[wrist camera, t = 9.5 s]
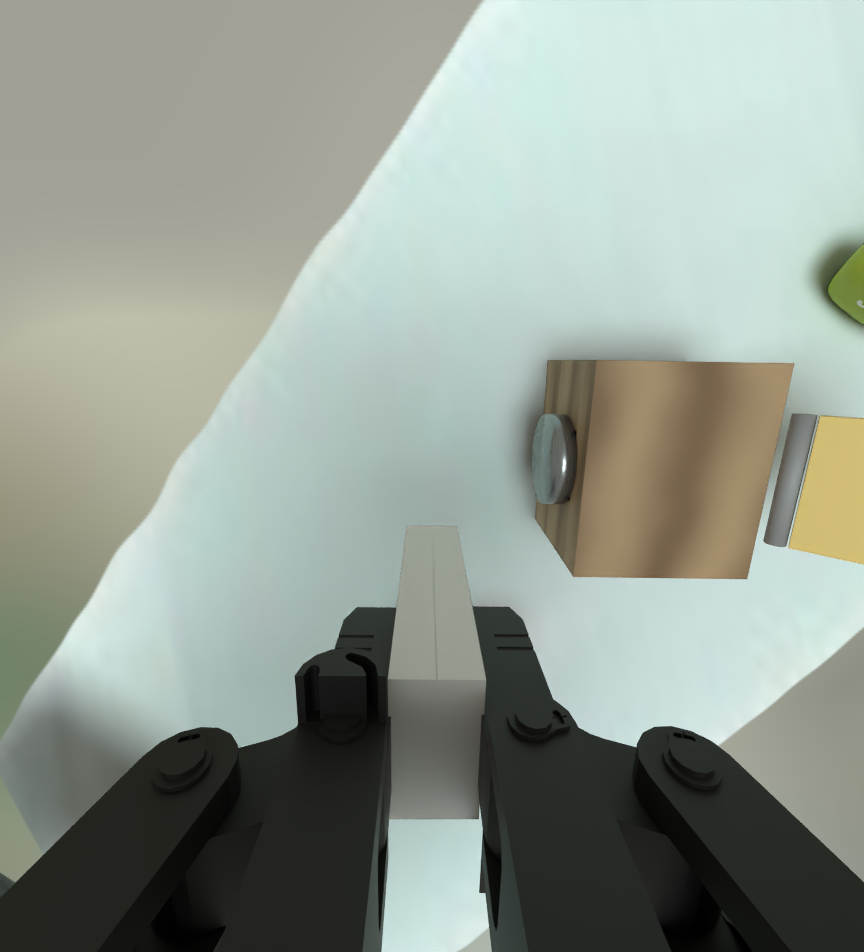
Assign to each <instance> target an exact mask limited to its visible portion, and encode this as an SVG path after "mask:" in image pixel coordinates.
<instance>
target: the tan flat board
mask: <svg viewBox="0 0 864 952" xmlns="http://www.w3.org/2000/svg"><path fill="white" fill-rule="evenodd" d="M816 419H817V415H811V414H792V416H791V420H790V424H789V429H788V433H787V438H786V442H785V447H784V451H783V456H782V460H781V465H780V469H779V474H778V478H777V482H776V487H775V491H774V496H773V500H772V505H771V509H770V514H769V518H768V523H767V527H766V532H765V536H764V540H763V541H764V542H765V543H767V544H769V545H773V546H778V547H785V546H786V545H787V541H788V537H789V532H790V528H791V524H792V520H793V516H794V511H795V507H796V503H797V499H798V495H799V491H800V486H801V482H802V478H803V474H804V470H805V465H806V461H807V457H808V453H809V449H810V445H811V440H812V436H813V432H814V428H815V424H816ZM789 548H790V549H795V550H800V551H804V552H809V553H813V554H818V555H822V556H827V557H832V558H836V559H841V560H845V561H850V562H855V563H859V564H864V418H854V417H839V416H824V415H820V417H819V421H818V425H817V429H816V434H815V438H814V442H813V446H812V450H811V454H810V459H809V463H808V467H807V471H806V475H805V479H804V483H803V488H802V492H801V496H800V500H799V504H798V508H797V513H796V517H795V521H794V525H793V529H792V533H791V537H790V542H789Z"/></svg>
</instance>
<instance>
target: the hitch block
mask: <svg viewBox="0 0 864 952" xmlns="http://www.w3.org/2000/svg"><path fill="white" fill-rule="evenodd" d="M793 367H794V363H736V362H676V361H616V360H548V366H547V379H546V391H545V404H544V414H566V415H567V416H568V417H569V418H570V420H571V422H572V424H573V428H574V432H575V435H576V450H577V460H576V473H575V480H574V484H573V488H572V492H571V494H570V497H569V498H568V500H567V501H566V502H565V503H564V504H541V503H540V502H539V501H538V499H537V503H536V515H535V519H536V521H537V522H538V524H539V525H540V527H541V528H542V530H543V532H544V533H545V535H546V536H547V538H548V539H549V541H550V542H551V544H552V545H553V547H554V548H555V550H556V551H557V553H558V554H559V556H560V557H561V559H562V560H563V562H564V563H565V565H566V566H567V568H568V569H569V571H570V572H571V574H572V575H573V577H627V578H701V579H747V577H748V573H749V568H750V563H751V559H752V554H753V550H754V545H755V541H756V536H757V532H758V527H759V522H760V518H761V513H762V509H763V504H764V500H765V495H766V490H767V486H768V481H769V477H770V472H771V468H772V463H773V459H774V454H775V449H776V445H777V440H778V436H779V431H780V427H781V422H782V417H783V413H784V408H785V404H786V399H787V395H788V390H789V386H790V381H791V376H792V372H793Z"/></svg>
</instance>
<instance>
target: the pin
mask: <svg viewBox="0 0 864 952" xmlns="http://www.w3.org/2000/svg"><path fill="white" fill-rule="evenodd" d="M576 460H577V450H576V435H575V432H574V428H573V424H572V422H571V420H570V418H569V417H568V416H567V415H566V414H543V415H542V416H541V417H540V419H539V421H538V423H537V426H536V430H535V434H534V440H533V450H532V476H533V485H534V490H535V494H536V497H537V499H538V501H539V502H540V503H541V504H564V503H565V502H566V501H567V500H568V498H569V497H570V494H571V492H572V488H573V484H574V480H575V473H576Z"/></svg>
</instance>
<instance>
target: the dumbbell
mask: <svg viewBox="0 0 864 952" xmlns="http://www.w3.org/2000/svg"><path fill="white" fill-rule="evenodd" d="M828 293H829V296H830V298H831V299H832V300H833V301H834V302H835V303H836V304H837V305H838V306H839V307H840V308H841V309H843V310H844V311H845V312H847V313H848V314H849V315H850V316H851V317H853V318H854V319H855V320H857V321H858V322H860V323H862V324H864V244H863V245H862V246H861V247H860V248H859V249H858V250H857V251H856V252H855V253H854V254H853V255H852V256H851V257H850V258H849V259H848V260H847V262H846V263H845V264H844V265H843V266H842V268H841V269H840V270H839V271H838V273H837V274H836V275H835V276H834V278H833V279H832V281H831V282H830V284H829V287H828Z"/></svg>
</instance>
